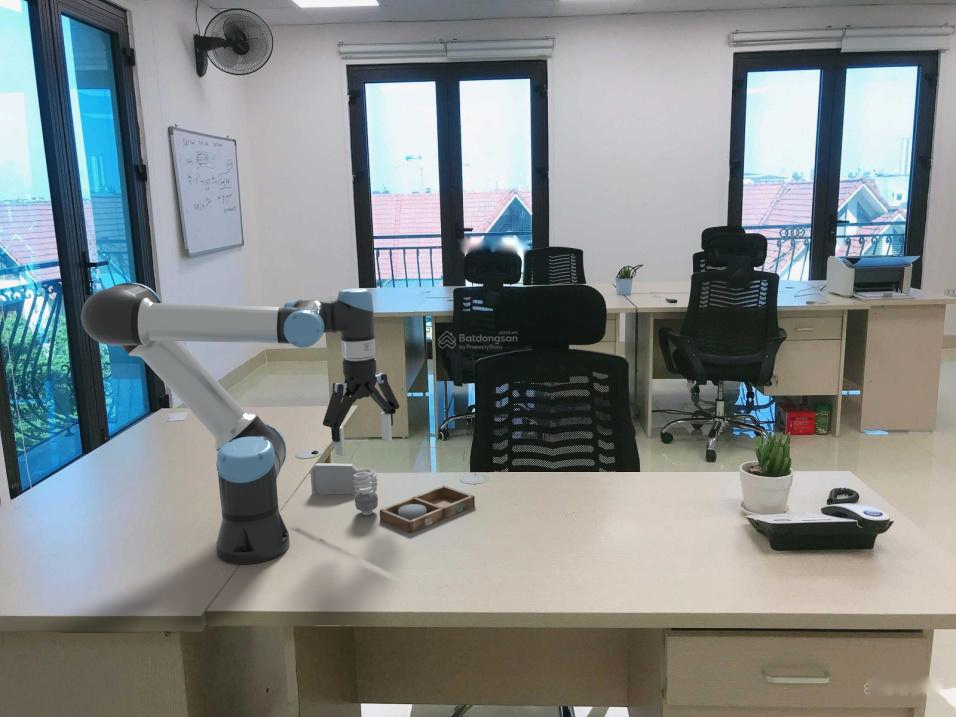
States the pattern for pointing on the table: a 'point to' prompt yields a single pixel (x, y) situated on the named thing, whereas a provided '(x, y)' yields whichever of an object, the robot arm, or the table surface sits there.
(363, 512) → the light bulb
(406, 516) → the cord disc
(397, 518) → the organizer
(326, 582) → the table surface
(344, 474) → the grey plastic panel
